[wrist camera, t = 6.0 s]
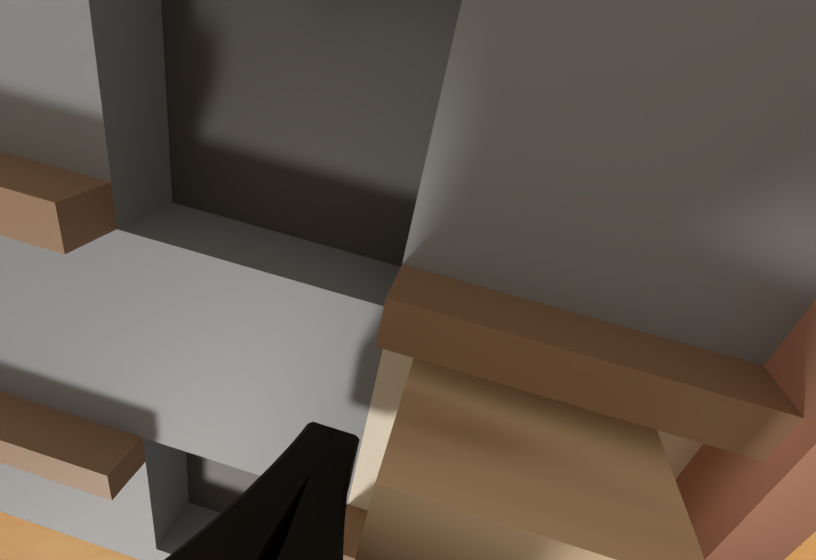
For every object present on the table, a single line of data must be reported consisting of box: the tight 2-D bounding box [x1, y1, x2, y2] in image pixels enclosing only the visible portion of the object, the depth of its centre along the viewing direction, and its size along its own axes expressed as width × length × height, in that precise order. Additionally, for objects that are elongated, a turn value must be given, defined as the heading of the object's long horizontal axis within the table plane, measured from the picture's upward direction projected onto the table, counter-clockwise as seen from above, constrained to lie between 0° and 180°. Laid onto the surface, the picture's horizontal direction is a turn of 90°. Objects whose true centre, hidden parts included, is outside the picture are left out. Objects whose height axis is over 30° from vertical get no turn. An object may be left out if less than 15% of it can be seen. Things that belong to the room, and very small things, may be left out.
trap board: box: [0, 0, 816, 560], centre depth 13 cm, size 23×26×4 cm
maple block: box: [355, 358, 705, 560], centre depth 10 cm, size 6×6×4 cm
